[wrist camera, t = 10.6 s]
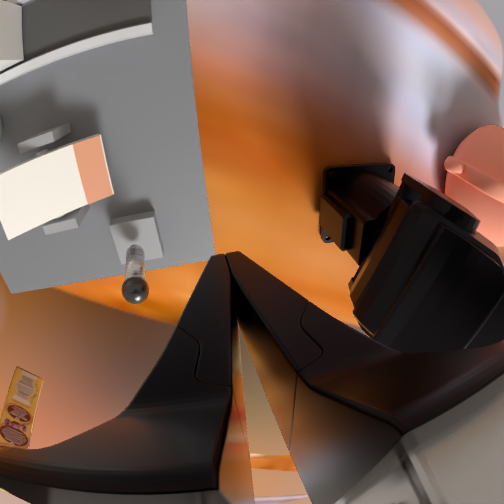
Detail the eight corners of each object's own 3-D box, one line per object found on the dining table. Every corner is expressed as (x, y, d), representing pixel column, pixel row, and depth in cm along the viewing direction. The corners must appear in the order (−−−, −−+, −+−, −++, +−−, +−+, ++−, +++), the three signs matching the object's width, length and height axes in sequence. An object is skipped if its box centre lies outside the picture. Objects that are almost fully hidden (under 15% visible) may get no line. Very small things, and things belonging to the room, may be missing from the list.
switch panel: (182, -57, 11) (183, -89, 7) (213, 244, 24) (221, 282, 20) (-42, 28, 9) (-78, 29, 5) (19, 279, 21) (0, 316, 17)
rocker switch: (96, 130, 15) (100, 131, 14) (109, 192, 17) (115, 197, 16) (-12, 173, 12) (-15, 178, 11) (10, 236, 14) (9, 244, 13)
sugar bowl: (475, 232, 30) (531, 279, 22) (403, 211, 26) (477, 274, 18) (509, 142, 24) (575, 177, 16) (444, 91, 20) (538, 120, 12)
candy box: (14, 363, 26) (-12, 475, 14) (44, 377, 28) (26, 491, 16) (11, 393, 29) (-6, 487, 16) (37, 405, 31) (25, 499, 18)
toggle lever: (144, 236, 18) (145, 292, 16) (150, 252, 19) (152, 306, 17) (119, 240, 18) (117, 297, 15) (127, 256, 19) (126, 310, 17)
